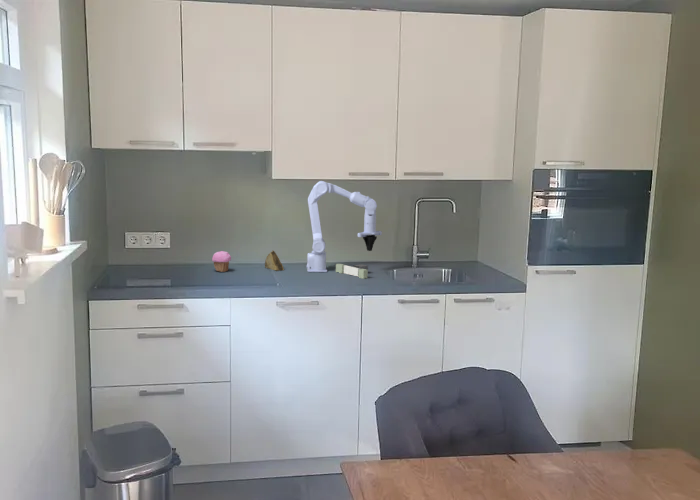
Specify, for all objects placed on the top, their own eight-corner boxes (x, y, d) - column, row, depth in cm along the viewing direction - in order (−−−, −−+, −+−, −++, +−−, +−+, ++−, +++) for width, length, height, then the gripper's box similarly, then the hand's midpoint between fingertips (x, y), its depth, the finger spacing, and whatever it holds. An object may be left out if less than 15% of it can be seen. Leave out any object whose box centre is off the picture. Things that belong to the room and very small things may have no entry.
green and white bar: (363, 278, 307) (363, 270, 307) (335, 272, 322) (335, 264, 321) (367, 278, 309) (367, 269, 308) (339, 271, 324) (339, 263, 323)
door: (359, 276, 310) (359, 268, 310) (343, 273, 319) (343, 264, 318) (360, 276, 311) (361, 267, 310) (345, 272, 319) (345, 264, 319)
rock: (258, 263, 329) (262, 263, 319) (268, 249, 330) (272, 249, 320) (276, 275, 331) (280, 276, 322) (285, 261, 333) (290, 262, 323)
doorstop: (360, 274, 317) (360, 266, 317) (353, 273, 321) (353, 265, 320) (367, 273, 321) (368, 265, 320) (360, 272, 324) (361, 264, 324)
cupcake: (234, 271, 318) (234, 250, 316) (223, 273, 310) (223, 253, 308) (219, 269, 322) (219, 249, 320) (208, 271, 314) (208, 251, 312)
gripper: (364, 224, 314) (364, 252, 316) (386, 223, 323) (385, 250, 325) (354, 223, 319) (354, 251, 321) (376, 221, 329) (375, 248, 331)
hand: (369, 250), depth 324 cm, fingers closed
